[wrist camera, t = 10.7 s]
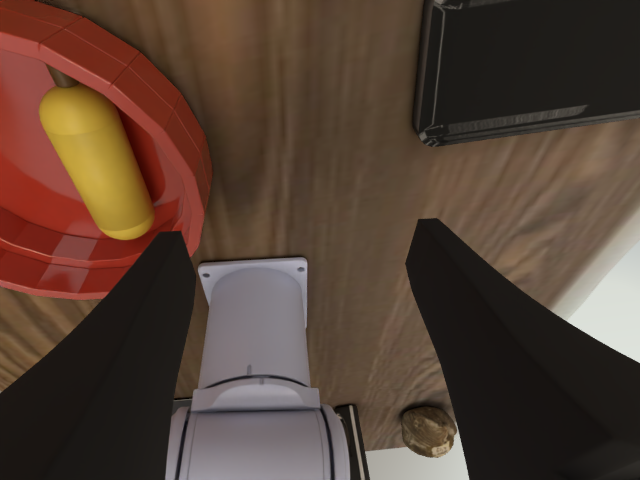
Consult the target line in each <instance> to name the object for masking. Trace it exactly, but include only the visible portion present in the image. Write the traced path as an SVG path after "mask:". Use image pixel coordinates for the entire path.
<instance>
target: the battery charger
mask: <svg viewBox="0 0 640 480" xmlns="http://www.w3.org/2000/svg"><path fill="white" fill-rule="evenodd" d="M334 412H335V414H336V415H337V416H338V417H339V419H340V421H341V423H342V425H343V428H344V432H345V436H346V440H347V446H348V453H349V463H350V480H370V477H369V471H368V466H367V460H366V455H365V449H364V444H363V438H362V433H361V428H360V422H359V416H358V411H357V407H356V406H352V405H349V406H346V407H340V408H336V409H335V410H334Z"/></svg>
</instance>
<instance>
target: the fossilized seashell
mask: <svg viewBox="0 0 640 480" xmlns="http://www.w3.org/2000/svg"><path fill="white" fill-rule="evenodd" d="M401 425H402V437H403V441H404V443H405V445H406V446H407V447H408V448H409V449H411V450H412V451H414V452H415V453H417V454H419V455H422V456H426V457H436V458H438V457H441V456H443V455H445V454H446V453H448V452H449V451H450V449H451V448H452V446H453V442H454V435H455V434H456V433H457V428H456V426H455V424H454V422H453V420H452V419H451V417H450V416H449V415H448V414H447V413H446V412H445V411H443V410H441V409H438V408H434V407H428V406H423V407H418V408H415V409H412V410H409V411H408V412H405V414H404V415H403V417H402V422H401Z"/></svg>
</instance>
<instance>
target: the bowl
mask: <svg viewBox="0 0 640 480" xmlns="http://www.w3.org/2000/svg"><path fill="white" fill-rule="evenodd" d="M45 63H46V64H48V65H50V66H51V67H53V68H55V69H57V70H59V71H61V72H63V73H64V74H66V75H68V76H70V77H72V78H74V79H76V80H77V81H79V82H80V83H82V84H85V85H87V86H89V87H90V88H92V89H94V90H96V91H98V92H100V93H102V94H103V95H105V96H106V97H107V98H108V99H110V100H111V101H112V103H113V104H114V105H115V107H116V109H117V111H118V113H119V116H120V119H121V121H122V124H123V127H124V129H125V132H126V134H127V137H128V140H129V142H130V145H131V148H132V150H133V153H134V156H135V158H136V161H137V163H138V166H139V169H140V171H141V174H142V177H143V179H144V182H145V185H146V187H147V190H148V192H149V195H150V198H151V200H152V203H153V206H154V210H155V218H154V221H153V224H152V226H151V228H150V229H149V230H148V231H147V232H146V233H145V234H143V235H142V236H140V237H138V238H135V239H130V240H119V239H115V238H112V237H110V236H108V235H106V234H105V233H104V232H102V231H101V230H100V229H99V228H98V226H97V225H96V223H95V221H94V220H93V218H92V216H91V214H90V212H89V210H88V209H87V207H86V205H85V203H84V201H83V200H82V198H81V196H80V194H79V192H78V190H77V189H76V187H75V185H74V183H73V181H72V180H71V178H70V176H69V174H68V172H67V170H66V169H65V167H64V165H63V163H62V161H61V159H60V158H59V156H58V154H57V152H56V150H55V149H54V147H53V145H52V143H51V141H50V139H49V138H48V136H47V134H46V132H45V130H44V129H43V126H42V124H41V121H40V117H39V105H40V102H41V99H42V97H43V96H44V95H45V93H46V92H47V91H48V90H50V89H51V88H52V87H54V86H56V85H55V83H54V81H53V79H52V77H51V75H50V73H49V71H48V69H47V67H46V64H45ZM212 176H213V168H212V164H211V159H210V154H209V149H208V145H207V140H206V136H205V134H204V132H203V130H202V128H201V127H200V125H199V123H198V121H197V120H196V118H195V116H194V115H193V113H192V111H191V109H190V108H189V106H188V104H187V102H186V101H185V99H184V97H183V95H182V94H181V92H180V91H179V90H178V89H177V88H176V87H175V86H174V85H173V84H172V83H171V82H170V81H169V80H168V79H167V78H166V77H165V76H164V75H163V74H162V73H161V72H160V71H159V70H158V69H157V68H156V67H155V66H154V65H153V64H152V63H151V62H150V61H149V60H148V59H147V58H146V57H145V56H144V55H143V54H142V53H140V52H139V51H138V50H136V49H135V48H133V47H132V46H130V45H128V44H127V43H125V42H124V41H122V40H120V39H119V38H117V37H116V36H114V35H112V34H111V33H109V32H108V31H106V30H104V29H103V28H101V27H100V26H98V25H96V24H95V23H93V22H91V21H90V20H88V19H87V18H85V17H82V16H80V15H77V14H74V13H71V12H68V11H65V10H62V9H59V8H55V7H52V6H49V5H46V4H43V3H40V2H37V1H34V0H0V287H4V288H8V289H12V290H16V291H20V292H24V293H28V294H32V295H36V296H45V297H55V298H65V299H74V300H88V299H103V298H104V297H105V296H106V295H107V294H108V293H109V292H110V291H111V290H112V288H113V287H114V286H115V285H116V284H117V283H118V281H119V280H120V279H121V278H122V277H123V275H124V274H125V273H126V272H127V271H128V270H129V268H130V267H131V266H132V265H133V263H134V262H135V261H136V260H137V259H138V257H139V256H140V255H141V254H142V252H143V251H144V250H145V249H146V247H147V246H148V245H149V244H150V242H151V241H152V240H153V239H154V237H155V236H156V235H157V234H158V233H159V232H164V231H181V232H182V235H183V238H184V241H185V244H186V247H187V250H188V253H189V256H190V258H191V257H192V255H193V254H194V252H195V251H196V250H197V248H198V247H199V244H200V240H201V235H202V230H203V225H204V220H205V215H206V210H207V205H208V199H209V194H210V188H211V182H212Z"/></svg>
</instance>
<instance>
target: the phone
mask: <svg viewBox="0 0 640 480" xmlns="http://www.w3.org/2000/svg"><path fill="white" fill-rule="evenodd" d="M636 118H640V0H425V3H424V9H423V19H422V29H421V40H420V50H419V60H418V70H417V81H416V91H415V101H414V111H413V128H414V130H415V132H416V134H417V135H418V137H419V138H420V140H421V141H422V142H423V143H424V144H425V145H428V146H431V147H437V146H444V145H451V144H458V143H466V142H473V141H480V140H487V139H494V138H501V137H508V136H515V135H522V134H529V133H537V132H544V131H551V130H558V129H565V128H572V127H579V126H586V125H594V124H601V123H608V122H615V121H622V120H629V119H636Z"/></svg>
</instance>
